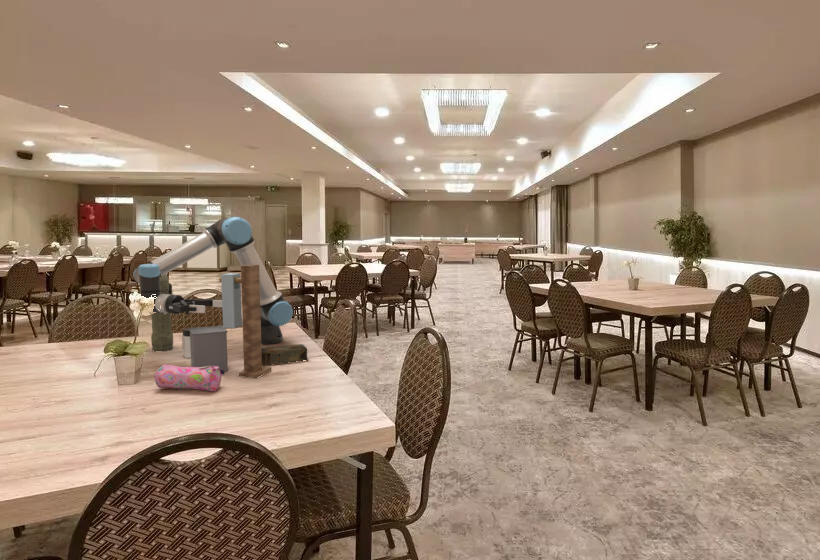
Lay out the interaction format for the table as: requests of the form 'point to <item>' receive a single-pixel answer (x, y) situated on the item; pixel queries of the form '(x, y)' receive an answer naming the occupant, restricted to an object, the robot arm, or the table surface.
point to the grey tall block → (231, 301)
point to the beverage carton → (283, 354)
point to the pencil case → (188, 377)
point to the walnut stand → (251, 321)
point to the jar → (186, 342)
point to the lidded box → (209, 347)
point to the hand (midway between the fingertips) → (216, 306)
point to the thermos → (162, 322)
